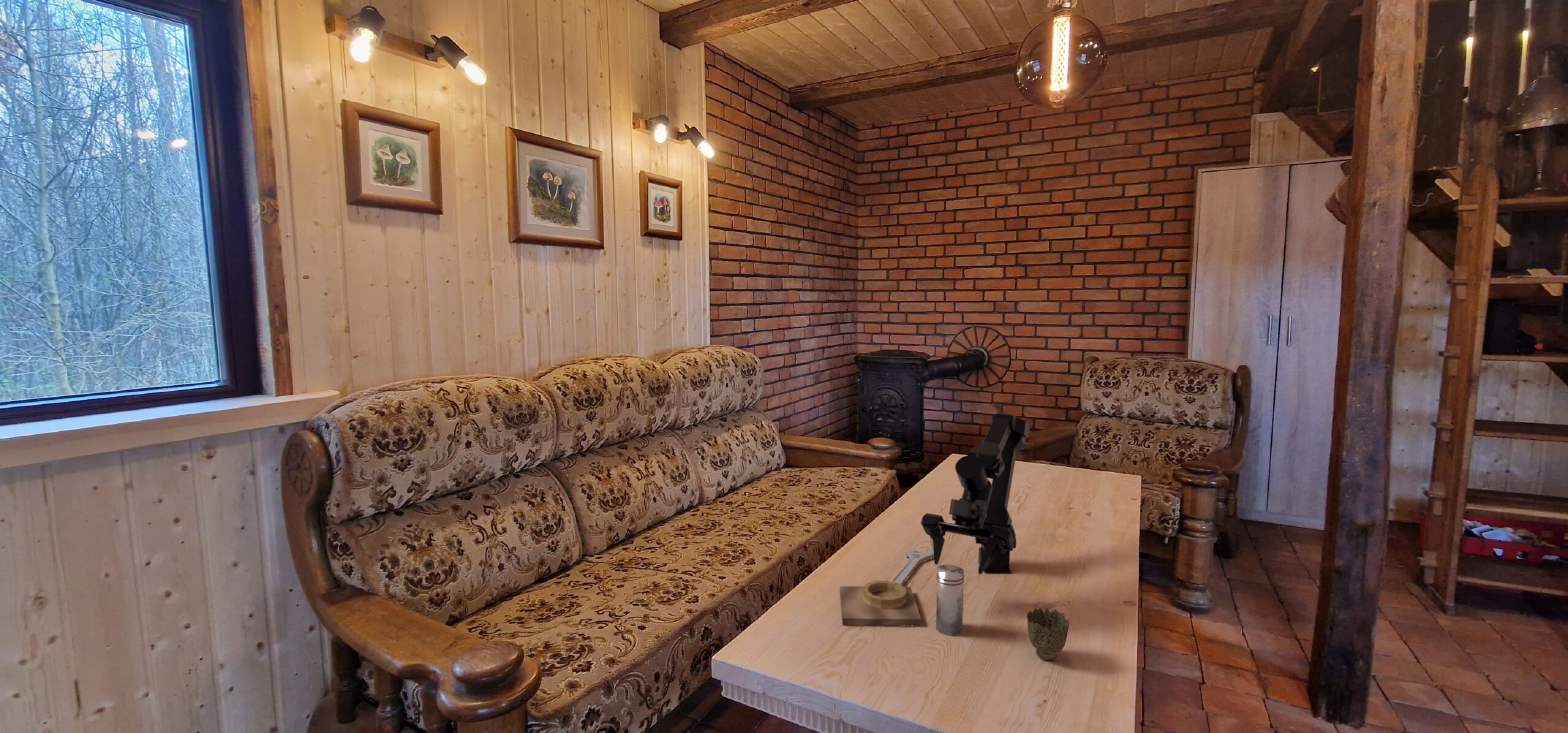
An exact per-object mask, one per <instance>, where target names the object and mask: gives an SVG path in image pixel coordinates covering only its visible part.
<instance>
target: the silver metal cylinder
mask: <svg viewBox="0 0 1568 733" xmlns="http://www.w3.org/2000/svg"><path fill="white" fill-rule="evenodd" d="M964 572H965V571H964V568H962V567H960V566H958V565H953V564H941V565H938V566H937V567H936V608H935V610H936V611H935V612H936V614H935V616H936V617H935V629H936V631H937V630H938V631H939V632H938V631H937V632H938V633H940V634H941V635H945V636H953V637H954V635H955V636H959V635H961V634H962V633H963V623H964V622H963V619H964V614H963V613H964V582H965V579H964V578H965V574H964ZM960 633H961V634H960ZM958 634H959V635H958Z"/></svg>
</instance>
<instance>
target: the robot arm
mask: <svg viewBox="0 0 1568 733" xmlns="http://www.w3.org/2000/svg"><path fill="white" fill-rule="evenodd" d="M1029 434H1030V424H1029V422H1028V421H1027V420H1025V419H1024V418H1020V417H1017V416H1016V415H1014V414H1012V413H1001V412H996V413H994V414H992V418H991V424H990V427H989V428H988V430H987V432H986V434H985V436H984V438H983V441H982V442H981V443H980V444H978V445H975V446H973V448H972V449H971V450H970V451H968V452H967V455H964V456H962V457H961V458H959V459H958V460H957V462H956V463H955V466H954V469H955V472H956V474H957V478H958V479H959V480H958V481H959V483H960V486H961V487H962V488H963V491H962V494H961V495H962V496H961V497H960V498H959V499H955V498H953V499H950V507H949V511H948V514H949V515H951V520H952V521H954V523H951V522H948V521H947V522H945V519H944V518H943V516H942V515H939V514H935V513H928V512H926V513H925V514H924V515H923V516H922V518H921V521H920V524H921V526H922V528H923V530H924V532H925V534H926V535H927V536H929V537H930V539H931V540H932V546H933V547H932V548H933V549H932V550H933V551H934V558H933V562H934V565H936V566H937V565H938V564H939V563H940V561H941V560H940V559H941V556H942V553H943V552H942V551H943V548H944V544H945V540H946V539H945V538H944V536H945V535H946V533H951V534H957V535H960V536H966V537H967V536H968V537H973V538H975V544H979V545H980V547H978V557H977V558H978V561H977V563H978V571H977V573H978V575H982V574H983V573H984V574H985V573H986V574H988V573H989V574H1011V573H1012V572H1013V571H1012V569H1011V567H1010V563H1011V562H1010V560H1011V559H1010V558H1011V555H1010V554H1011V552H1014V549H1016V548H1017V537H1016V536H1017V535H1016V532H1015V529H1014V526H1013V519H1012V518H1011V515H1010V512H1009V510H1008V506H1009V499H1010V495H1011V494H1010V493H1011V490H1012V489H1011V488H1012V482H1013V476H1014V470H1015V464H1016V457H1017V454H1018V453H1019V452H1020V451H1021V450H1023V448H1024V447H1025V445H1026V439H1027V438H1029ZM989 479H991V480H992V481H990V480H989Z"/></svg>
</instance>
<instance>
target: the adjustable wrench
mask: <svg viewBox="0 0 1568 733" xmlns="http://www.w3.org/2000/svg"><path fill="white" fill-rule="evenodd" d="M917 548H918V547H911V548H910V549H908V551H905V558H906V557H909V558H910V559H909V558H908V559H909V560H908V561H907V562H906V563H905V564H904V565H903V567H902V568H901V569H899V571H898V572H897V573H896V574H895V575H894V577H892V579H891V580H890V581H891V582H895V583H899V584H900V585H902V584H903V583H904V582H905V580H906V579H907V577H908V576H909V575H910V574H911V573H912V571H913V570H914V569H915V568H916V566H917V565H918V564H919V563H921V562H923V561H925V560H928V561H930V560H929V559H931V558H933V557H934V550H933V549H932V548H930V547H927V548H926V549H927V551H923V552H921V551H920V552H918V549H917ZM933 559H934V558H933ZM931 560H932V559H931ZM925 562H926V561H925ZM923 563H924V562H923ZM921 564H922V563H921ZM919 565H920V564H919ZM919 565H918V566H919ZM918 566H917V567H918ZM916 569H917V568H916ZM916 569H915V570H916ZM915 570H914V571H915ZM914 571H913V572H914ZM912 574H913V573H912ZM912 574H911V575H912ZM911 575H910V576H911ZM907 580H908V579H907ZM907 580H906V581H907ZM905 583H906V582H905ZM905 583H904V584H905ZM904 584H903V585H904Z"/></svg>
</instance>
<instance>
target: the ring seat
mask: <svg viewBox="0 0 1568 733" xmlns="http://www.w3.org/2000/svg"><path fill="white" fill-rule="evenodd" d="M839 600H840V612H841V623H842V626H867V627H868V626H872V627H873V625H876V626H877V627H879V626H878V625H897V626H896V627H900V626H899V625H906V626H905V627H922V618H921V615H920V612H919V607H918V604H917V603H916V599H915V596H914V593H913V590H912V587H911V586H904V585H903V586H902V585H900V584H899V583H895V582H891V580H875V581H870V582H867V583H866V584H865V585H864V586H863V585H862V586H861V585H859V586H858V585H857V586H856V585H854V586H853V585H847V586H846V585H839ZM907 625H909V626H907ZM911 625H913V626H911Z"/></svg>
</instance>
